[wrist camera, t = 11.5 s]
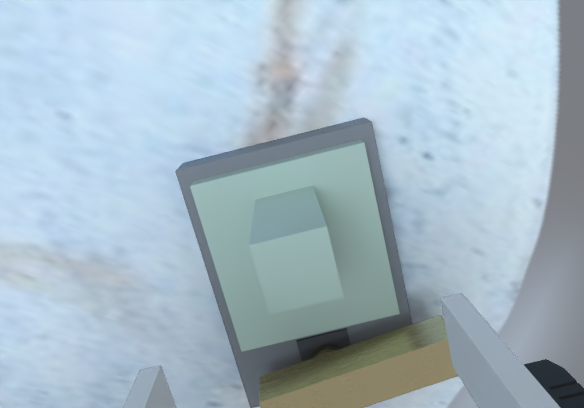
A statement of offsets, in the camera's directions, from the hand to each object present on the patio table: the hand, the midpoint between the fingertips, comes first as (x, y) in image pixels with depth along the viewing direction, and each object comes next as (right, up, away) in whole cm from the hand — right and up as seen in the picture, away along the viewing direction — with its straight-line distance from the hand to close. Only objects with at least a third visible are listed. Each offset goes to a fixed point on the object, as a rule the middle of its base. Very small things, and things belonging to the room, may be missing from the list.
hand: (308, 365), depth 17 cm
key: (+4, -6, +21) cm, 22 cm away
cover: (0, +3, +19) cm, 19 cm away
